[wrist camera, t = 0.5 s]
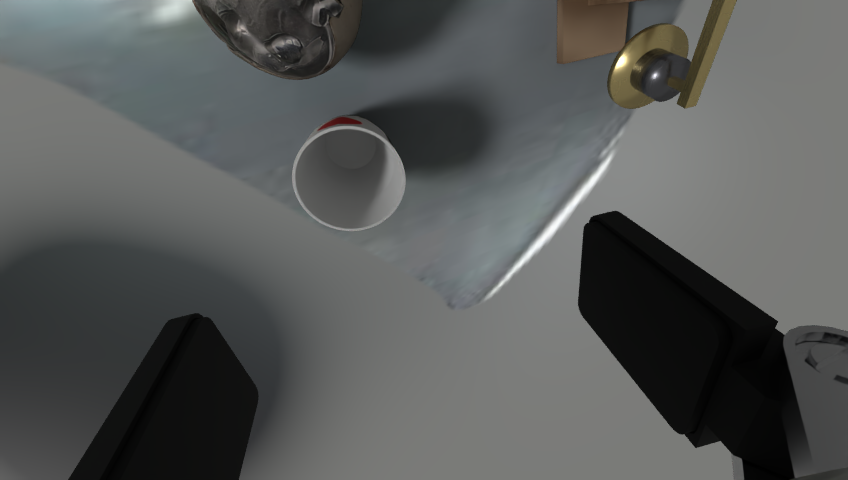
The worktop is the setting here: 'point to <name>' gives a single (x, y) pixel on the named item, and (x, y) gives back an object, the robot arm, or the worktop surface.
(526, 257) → the worktop surface
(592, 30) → the balance stand
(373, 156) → the cup
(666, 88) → the balance beam
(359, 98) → the worktop surface
